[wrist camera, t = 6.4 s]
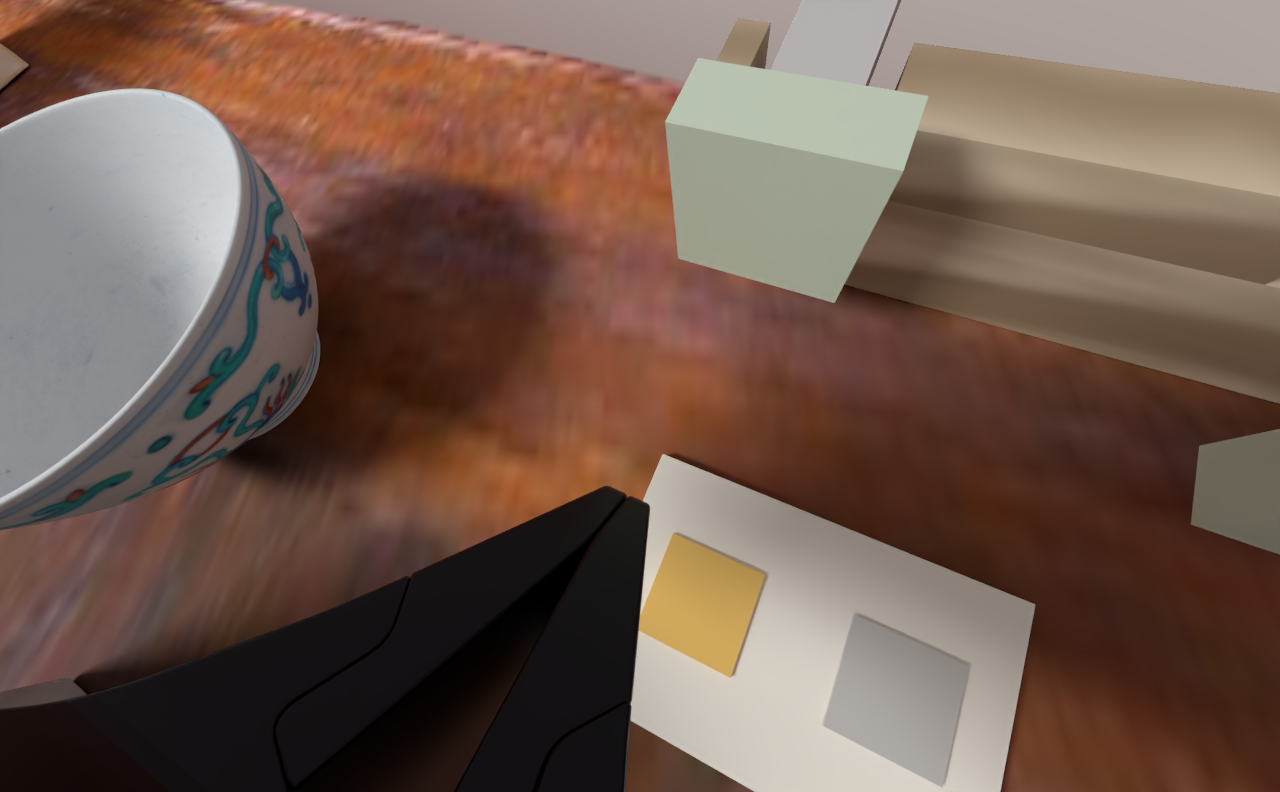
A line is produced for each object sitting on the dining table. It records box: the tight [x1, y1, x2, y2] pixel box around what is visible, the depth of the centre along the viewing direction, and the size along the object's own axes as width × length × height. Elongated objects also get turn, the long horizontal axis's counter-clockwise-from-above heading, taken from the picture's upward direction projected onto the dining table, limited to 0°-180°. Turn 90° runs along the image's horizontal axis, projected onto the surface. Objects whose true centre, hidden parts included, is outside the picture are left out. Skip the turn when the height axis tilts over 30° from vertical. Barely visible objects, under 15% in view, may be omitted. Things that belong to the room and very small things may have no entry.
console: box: [717, 18, 1280, 404], centre depth 14 cm, size 3×20×7 cm, turn 66°
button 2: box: [665, 0, 928, 303], centre depth 13 cm, size 11×5×5 cm, turn 156°
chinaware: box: [0, 89, 320, 530], centre depth 17 cm, size 15×15×8 cm
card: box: [631, 454, 1035, 792], centre depth 14 cm, size 8×12×1 cm, turn 66°
